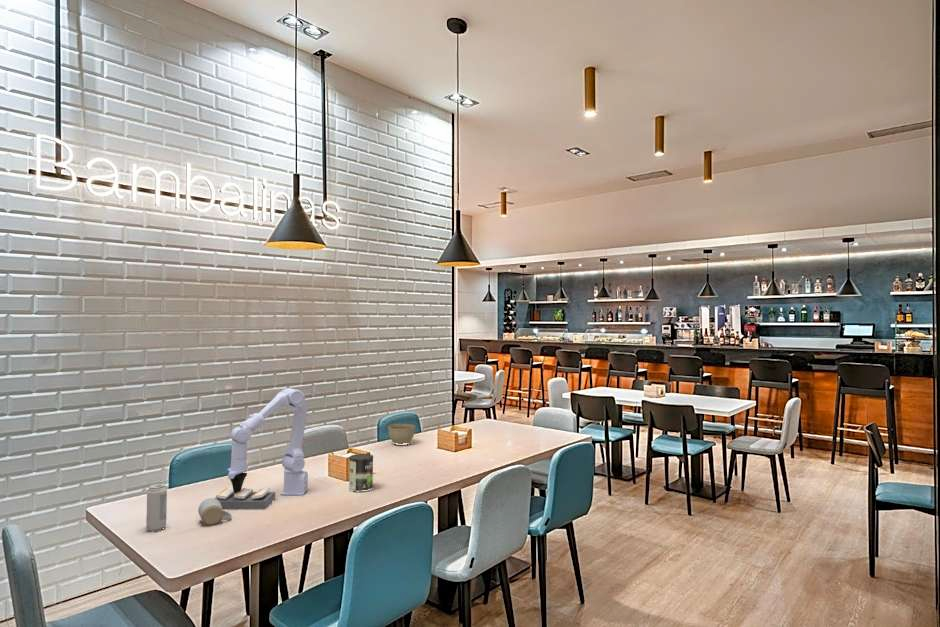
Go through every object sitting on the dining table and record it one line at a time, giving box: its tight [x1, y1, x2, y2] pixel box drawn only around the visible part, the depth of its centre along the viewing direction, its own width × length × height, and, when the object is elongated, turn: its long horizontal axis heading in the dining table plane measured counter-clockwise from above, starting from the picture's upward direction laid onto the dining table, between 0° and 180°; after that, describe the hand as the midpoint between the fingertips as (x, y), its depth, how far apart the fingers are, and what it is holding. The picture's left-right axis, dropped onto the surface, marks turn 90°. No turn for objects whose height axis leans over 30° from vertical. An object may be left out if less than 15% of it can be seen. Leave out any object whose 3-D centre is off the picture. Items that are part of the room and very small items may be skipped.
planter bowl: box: [387, 423, 416, 444], centre depth 325 cm, size 16×16×11 cm
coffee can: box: [348, 453, 374, 491], centre depth 238 cm, size 10×10×14 cm
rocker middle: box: [234, 487, 254, 499], centre depth 217 cm, size 4×9×1 cm, turn 1°
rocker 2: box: [252, 487, 271, 499], centre depth 217 cm, size 4×9×1 cm, turn 2°
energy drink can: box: [145, 483, 168, 532], centre depth 190 cm, size 6×6×15 cm
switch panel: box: [213, 491, 276, 510], centre depth 216 cm, size 21×12×3 cm, turn 91°
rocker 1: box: [215, 487, 234, 499], centre depth 216 cm, size 4×9×1 cm, turn 1°
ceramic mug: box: [198, 497, 233, 526], centre depth 198 cm, size 11×8×8 cm
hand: (237, 492), depth 216 cm, fingers closed, pressing on rocker middle
